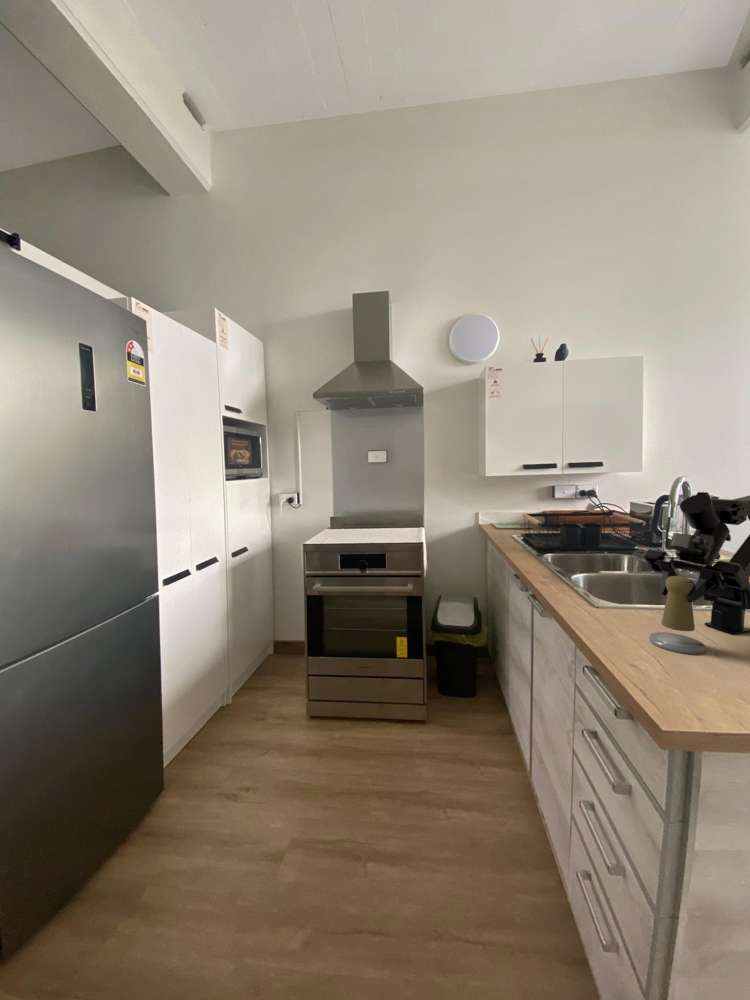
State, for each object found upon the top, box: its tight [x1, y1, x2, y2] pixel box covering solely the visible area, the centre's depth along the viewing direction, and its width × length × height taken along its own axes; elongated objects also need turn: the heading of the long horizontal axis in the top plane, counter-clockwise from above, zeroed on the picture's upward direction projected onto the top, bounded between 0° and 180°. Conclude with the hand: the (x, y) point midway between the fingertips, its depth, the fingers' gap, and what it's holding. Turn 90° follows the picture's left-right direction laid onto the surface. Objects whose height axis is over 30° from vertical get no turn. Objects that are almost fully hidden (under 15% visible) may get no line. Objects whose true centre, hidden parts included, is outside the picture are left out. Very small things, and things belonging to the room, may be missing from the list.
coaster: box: [648, 631, 706, 655], centre depth 94 cm, size 10×10×1 cm
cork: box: [661, 575, 695, 632], centre depth 94 cm, size 6×6×11 cm
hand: (675, 597), depth 93 cm, fingers closed on cork, 5 cm apart
